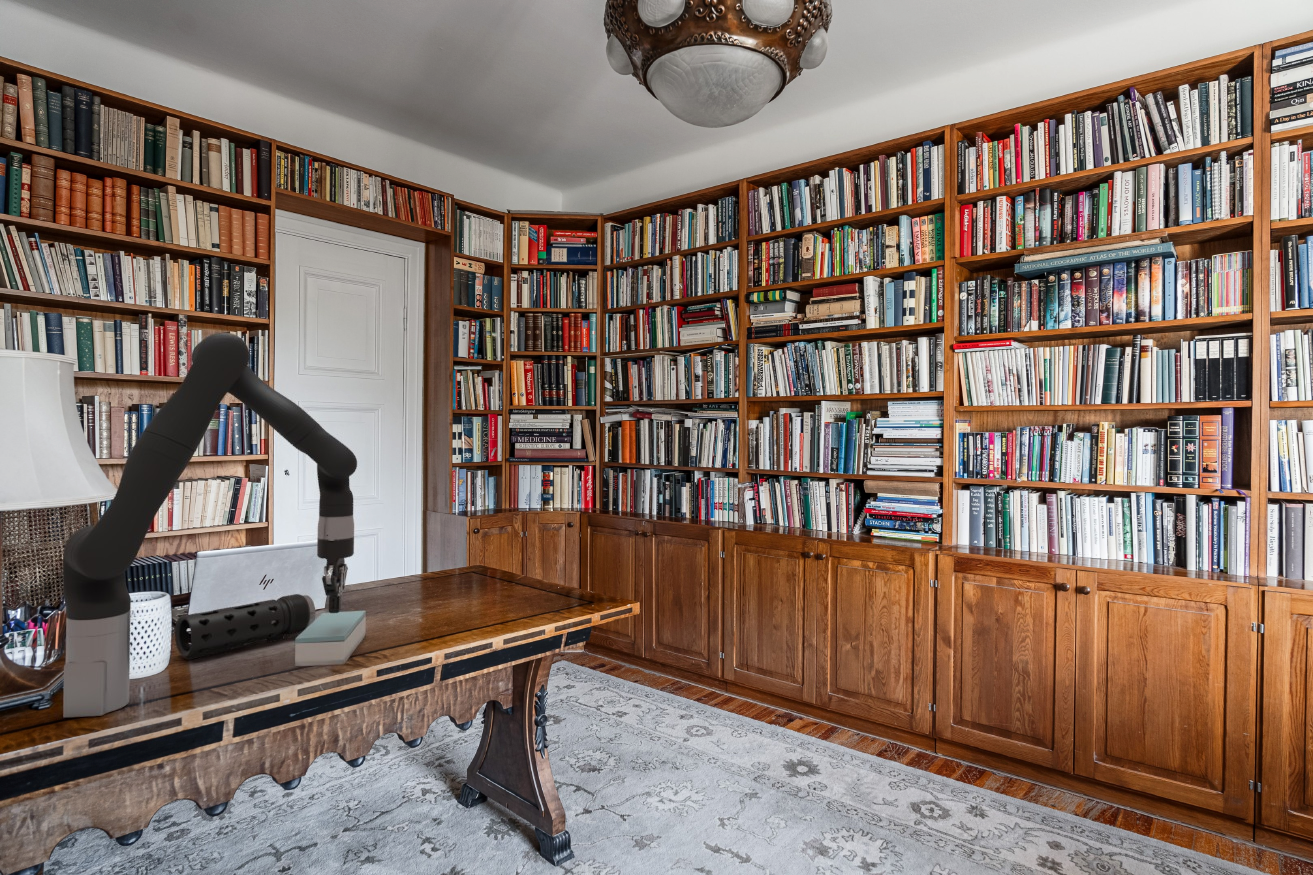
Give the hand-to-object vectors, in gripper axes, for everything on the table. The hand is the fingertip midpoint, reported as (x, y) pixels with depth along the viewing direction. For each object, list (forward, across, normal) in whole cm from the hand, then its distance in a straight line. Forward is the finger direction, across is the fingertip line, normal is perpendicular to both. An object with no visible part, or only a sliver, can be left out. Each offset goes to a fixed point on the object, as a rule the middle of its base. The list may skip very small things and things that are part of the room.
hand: (334, 612), depth 158 cm
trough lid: (+5, -7, -2) cm, 9 cm away
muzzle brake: (+11, -13, -22) cm, 28 cm away
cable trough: (+11, -7, -2) cm, 13 cm away
